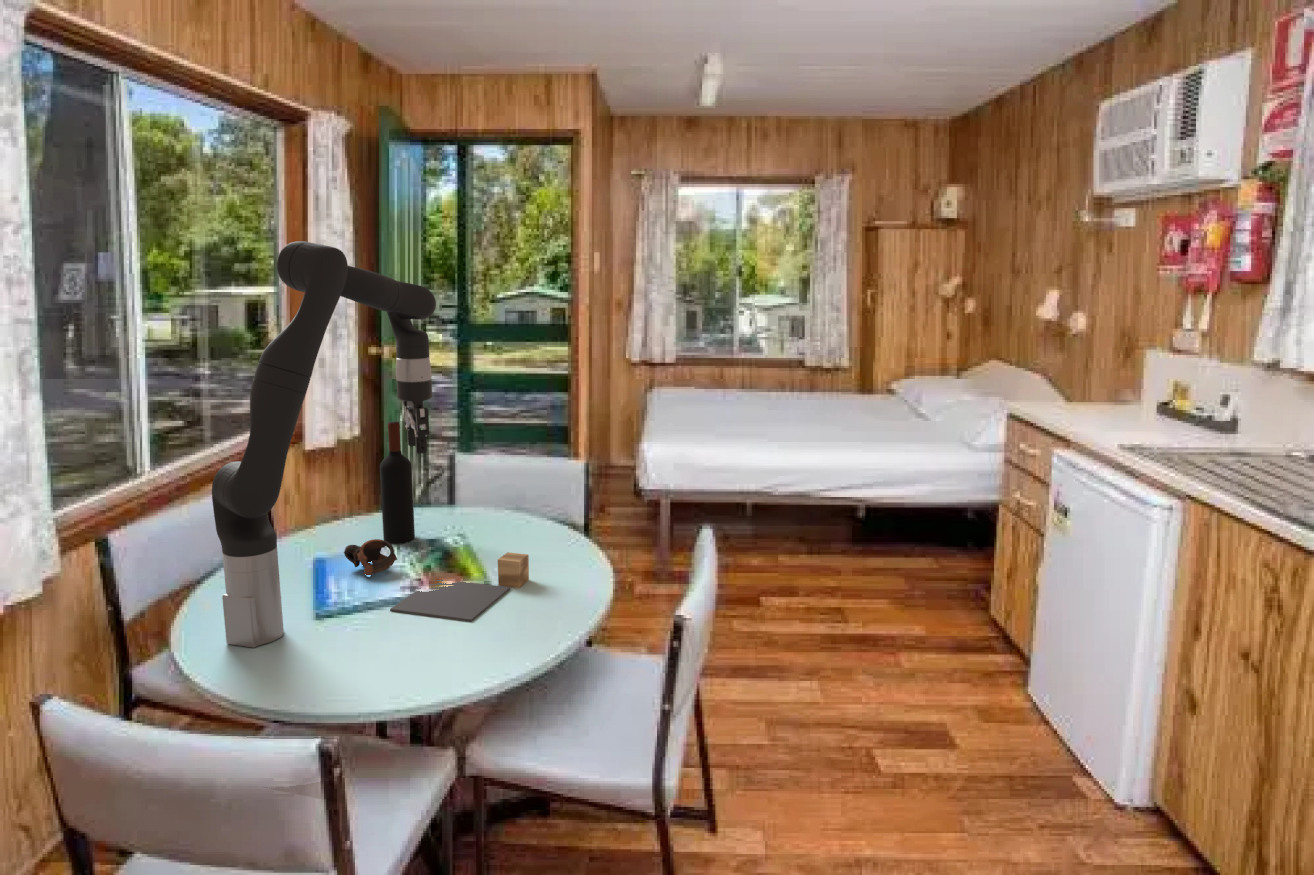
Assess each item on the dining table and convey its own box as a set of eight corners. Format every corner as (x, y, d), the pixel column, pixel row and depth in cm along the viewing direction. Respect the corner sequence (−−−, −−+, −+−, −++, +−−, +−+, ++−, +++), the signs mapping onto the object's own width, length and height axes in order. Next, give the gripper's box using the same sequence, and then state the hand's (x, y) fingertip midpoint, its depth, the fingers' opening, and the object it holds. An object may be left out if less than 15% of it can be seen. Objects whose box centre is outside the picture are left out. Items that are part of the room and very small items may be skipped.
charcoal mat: (471, 621, 176) (471, 619, 176) (390, 611, 181) (390, 608, 181) (510, 589, 193) (510, 587, 193) (435, 580, 198) (435, 578, 198)
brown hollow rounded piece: (400, 564, 209) (403, 540, 204) (387, 594, 202) (389, 570, 197) (349, 551, 208) (350, 527, 203) (334, 581, 201) (335, 557, 196)
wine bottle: (377, 542, 223) (371, 423, 217) (394, 533, 230) (388, 418, 224) (404, 545, 221) (398, 425, 215) (420, 536, 228) (415, 420, 222)
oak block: (519, 588, 194) (519, 561, 193) (498, 585, 195) (497, 559, 194) (528, 580, 199) (528, 554, 198) (508, 577, 200) (507, 552, 199)
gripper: (438, 381, 194) (441, 454, 197) (423, 373, 206) (426, 441, 209) (403, 383, 190) (407, 457, 194) (390, 374, 203) (393, 444, 206)
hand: (417, 449), depth 202 cm, fingers open, 8 cm apart
